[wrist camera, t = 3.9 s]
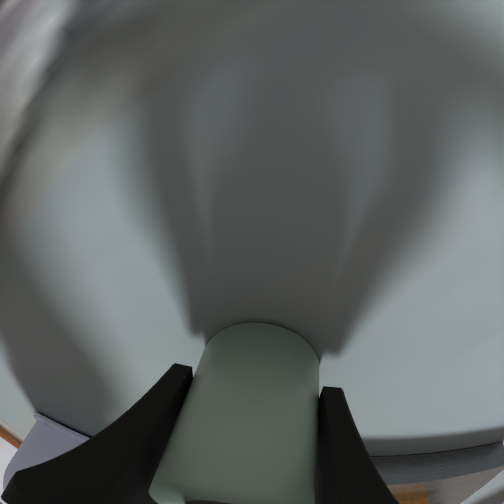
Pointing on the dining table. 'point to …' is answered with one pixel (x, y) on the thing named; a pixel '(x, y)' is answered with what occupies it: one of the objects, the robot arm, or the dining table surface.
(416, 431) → the dining table surface
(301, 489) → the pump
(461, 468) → the motor base
